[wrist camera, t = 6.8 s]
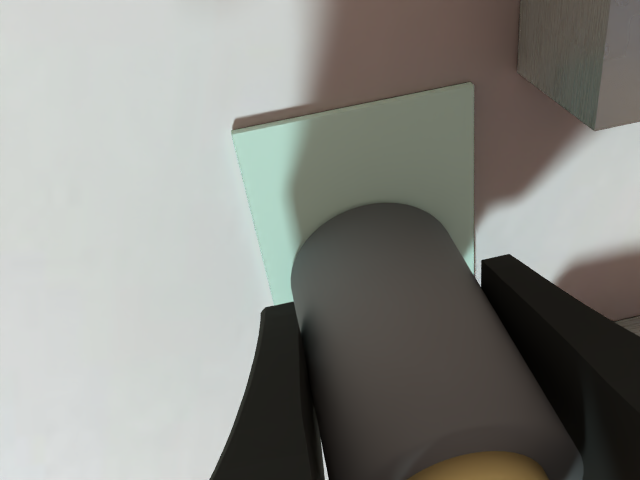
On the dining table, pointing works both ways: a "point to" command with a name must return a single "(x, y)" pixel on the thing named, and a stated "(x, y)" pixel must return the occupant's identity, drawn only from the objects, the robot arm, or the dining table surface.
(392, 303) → the grey canister
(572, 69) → the metal brackets
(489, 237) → the dining table surface
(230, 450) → the robot arm
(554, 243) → the dining table surface
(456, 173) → the mat
